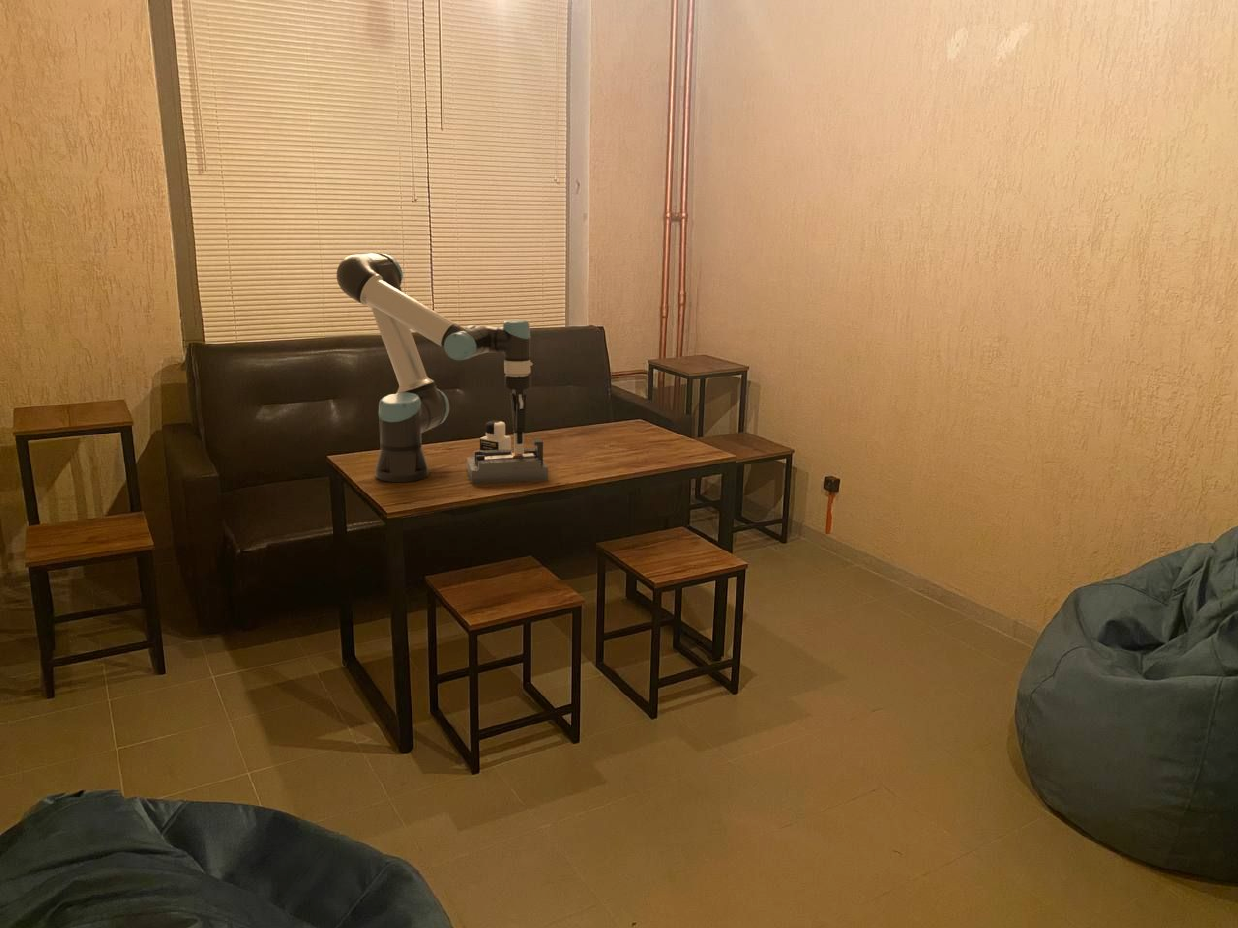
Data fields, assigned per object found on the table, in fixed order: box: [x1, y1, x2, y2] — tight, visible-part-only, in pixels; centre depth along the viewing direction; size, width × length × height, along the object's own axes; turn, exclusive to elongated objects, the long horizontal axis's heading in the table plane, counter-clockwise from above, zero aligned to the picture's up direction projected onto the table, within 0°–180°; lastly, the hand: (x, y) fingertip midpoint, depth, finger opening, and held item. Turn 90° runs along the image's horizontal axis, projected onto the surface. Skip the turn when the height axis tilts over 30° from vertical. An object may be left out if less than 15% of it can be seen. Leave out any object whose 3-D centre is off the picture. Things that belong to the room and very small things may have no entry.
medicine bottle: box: [479, 420, 512, 451], centre depth 280 cm, size 7×7×12 cm
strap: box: [485, 452, 535, 461], centre depth 264 cm, size 17×4×2 cm, turn 105°
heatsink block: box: [466, 437, 549, 485], centre depth 264 cm, size 22×14×10 cm, turn 105°
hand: (519, 453), depth 264 cm, fingers closed
